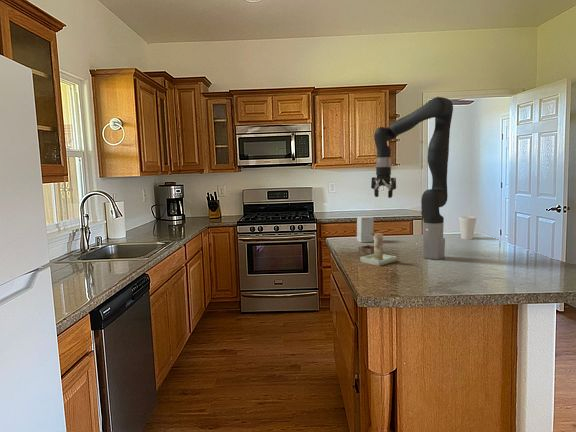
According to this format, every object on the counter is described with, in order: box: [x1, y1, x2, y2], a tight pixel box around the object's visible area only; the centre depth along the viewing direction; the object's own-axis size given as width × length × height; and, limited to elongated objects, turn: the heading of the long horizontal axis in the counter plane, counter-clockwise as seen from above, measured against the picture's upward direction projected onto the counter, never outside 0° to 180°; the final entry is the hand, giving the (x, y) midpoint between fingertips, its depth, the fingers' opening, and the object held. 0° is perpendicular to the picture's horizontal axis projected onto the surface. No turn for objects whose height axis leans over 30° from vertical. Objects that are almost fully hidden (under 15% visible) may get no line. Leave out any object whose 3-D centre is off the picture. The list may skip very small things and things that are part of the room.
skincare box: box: [356, 216, 374, 243], centre depth 240 cm, size 8×6×15 cm
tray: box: [359, 253, 398, 267], centre depth 191 cm, size 11×13×2 cm
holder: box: [358, 244, 374, 256], centre depth 207 cm, size 8×8×4 cm
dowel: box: [373, 232, 384, 260], centre depth 190 cm, size 4×4×12 cm
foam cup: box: [458, 215, 477, 240], centre depth 244 cm, size 10×9×13 cm
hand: (383, 197), depth 213 cm, fingers open, 8 cm apart
